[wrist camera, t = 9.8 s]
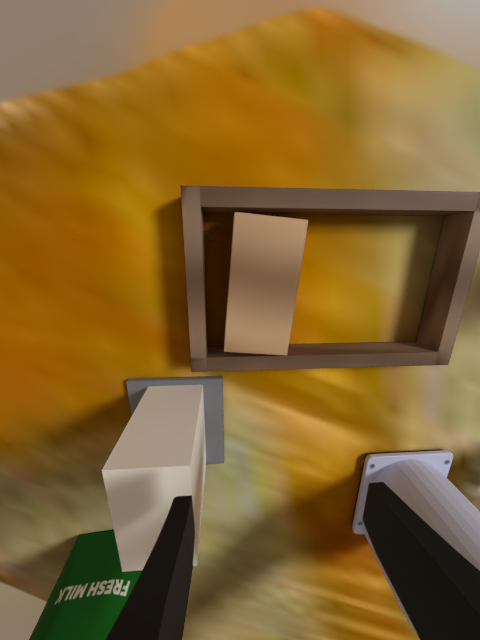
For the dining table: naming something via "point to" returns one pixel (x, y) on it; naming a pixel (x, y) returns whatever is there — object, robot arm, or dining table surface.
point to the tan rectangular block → (263, 282)
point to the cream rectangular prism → (156, 469)
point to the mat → (211, 407)
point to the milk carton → (87, 592)
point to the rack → (457, 208)
